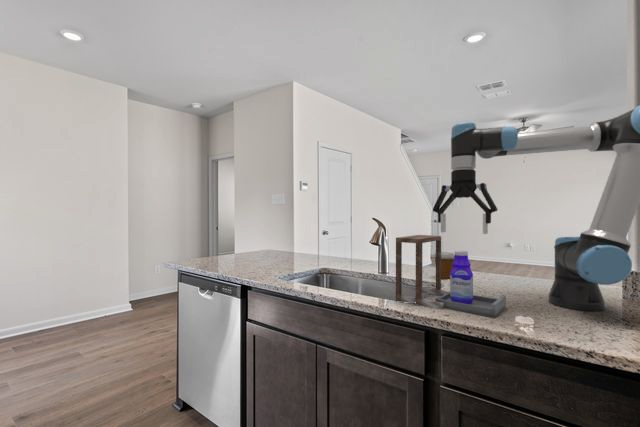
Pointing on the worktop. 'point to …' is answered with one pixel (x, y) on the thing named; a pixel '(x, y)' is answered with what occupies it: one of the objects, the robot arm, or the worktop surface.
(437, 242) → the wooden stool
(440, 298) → the tray
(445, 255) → the disposable coffee cup
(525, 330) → the worktop surface
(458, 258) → the bottle
